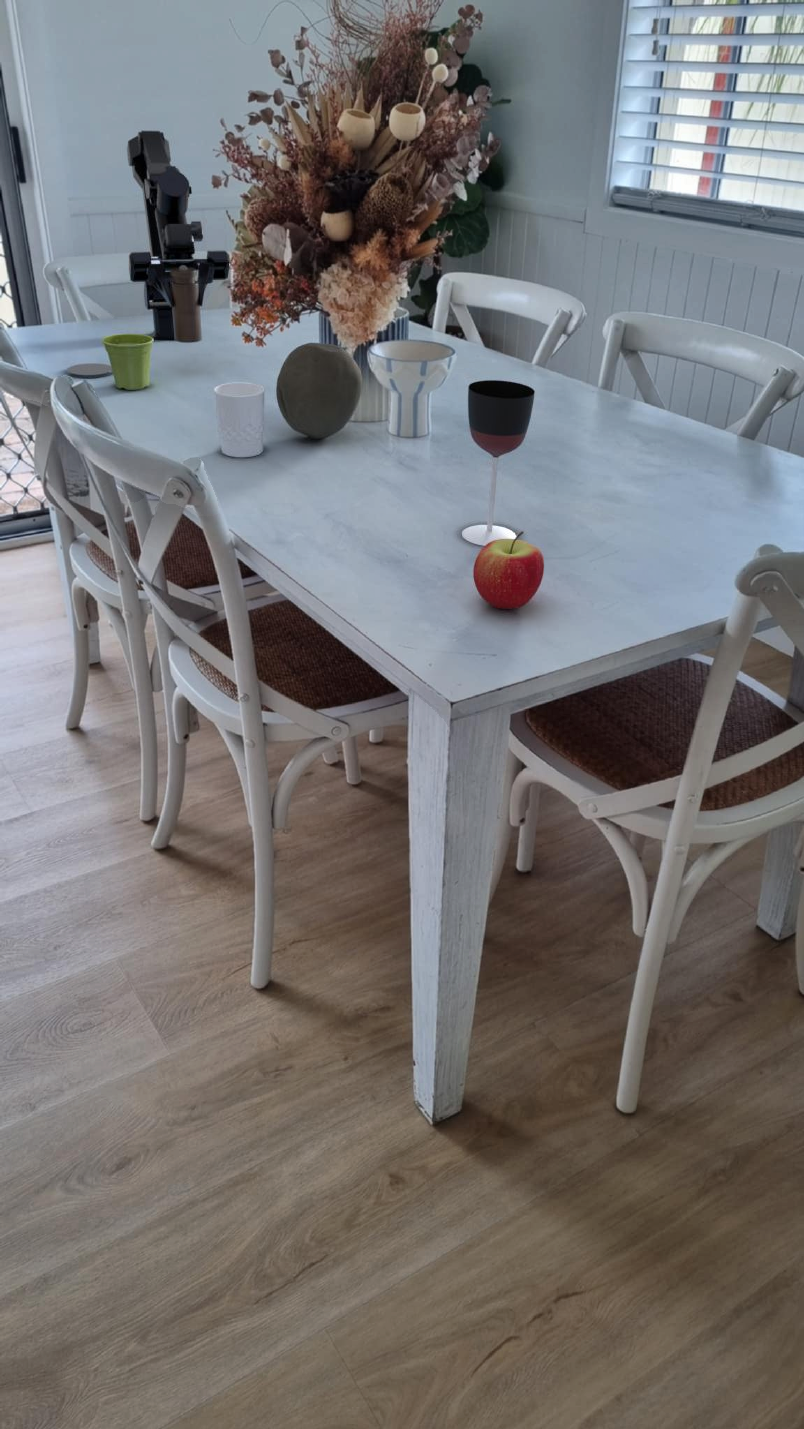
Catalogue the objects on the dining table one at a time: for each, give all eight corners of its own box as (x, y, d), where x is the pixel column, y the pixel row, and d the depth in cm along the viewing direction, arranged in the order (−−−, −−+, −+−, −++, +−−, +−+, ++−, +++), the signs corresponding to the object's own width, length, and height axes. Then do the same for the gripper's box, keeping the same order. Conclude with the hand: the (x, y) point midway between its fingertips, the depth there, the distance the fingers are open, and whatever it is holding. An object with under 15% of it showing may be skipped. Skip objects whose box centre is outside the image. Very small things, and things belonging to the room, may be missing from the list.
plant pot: (102, 381, 203) (96, 335, 199) (151, 377, 207) (146, 331, 202) (112, 395, 196) (107, 346, 192) (163, 390, 200) (159, 343, 195)
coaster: (70, 366, 212) (70, 363, 212) (115, 366, 213) (115, 363, 213) (64, 378, 205) (63, 375, 204) (110, 378, 206) (110, 375, 205)
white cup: (257, 461, 168) (255, 398, 163) (210, 456, 170) (206, 393, 164) (272, 445, 175) (270, 384, 170) (227, 441, 176) (223, 380, 171)
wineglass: (480, 519, 151) (491, 376, 140) (531, 535, 146) (547, 390, 136) (446, 534, 146) (455, 388, 135) (498, 552, 141) (511, 402, 130)
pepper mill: (178, 335, 208) (173, 261, 201) (204, 337, 208) (200, 263, 201) (171, 341, 204) (165, 266, 197) (198, 343, 204) (193, 268, 196)
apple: (501, 626, 123) (509, 546, 118) (456, 598, 129) (461, 521, 124) (554, 609, 128) (563, 531, 122) (508, 583, 133) (515, 507, 128)
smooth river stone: (352, 451, 174) (353, 358, 166) (268, 444, 175) (265, 351, 167) (368, 426, 186) (369, 337, 177) (289, 419, 187) (287, 331, 179)
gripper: (124, 204, 194) (136, 281, 191) (225, 204, 199) (239, 278, 196) (124, 244, 204) (136, 316, 201) (220, 242, 209) (233, 313, 207)
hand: (186, 305), depth 201 cm, fingers closed on pepper mill, 5 cm apart
